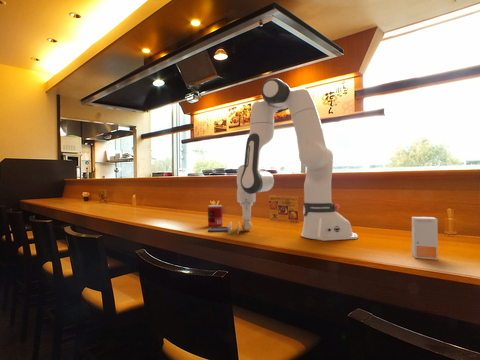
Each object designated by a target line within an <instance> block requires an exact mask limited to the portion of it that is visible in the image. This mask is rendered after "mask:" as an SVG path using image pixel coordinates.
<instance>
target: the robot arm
mask: <svg viewBox="0 0 480 360" xmlns="http://www.w3.org/2000/svg"><path fill="white" fill-rule="evenodd" d="M260 92H261V97H262V99H259V100H257V101H255V102H253V104H252V105H251V111H250V117H249V134H248V137H247V139H246V144H245V145H246V146H245V152H244V153H245V154H244V163H243V164H242V165H240V166H238V168H237V172H236V184H237V190H236V201H237V203H239V206H240V207H241V208H242V220H243V221H245V229H249V221H251V219H252V218H251V217H252V213H251V212H252V206H254V203H256V201H257V200H256V199H257V198H256V197H257V196H256V194H257V193H263V192H269V191H270V190H271V189H272V188H274V185H275V178H274V175H273V173H271V172H270V171H267V170H264V169H260V168H259V165H260V164H259V162H260V153H261V150H262V148H263V147H264V146H265V145H267V144H268V143H269V142H271V140H272V139H273V138H274V134H275V133H274V132H275V114H280V113H282V112H284V111H287V110H289V114H290V117H291V121H292V124H293V127H294V131H295V135H296V141H297V149H298V158H299V161H300V163H301V164H302V165H303V166H304V167H305V168H306V173H305V180H304V182H303V193H304V194H303V195H304V196H303V201H304V202H303V205H302V209H303V210H302V214H303V225H302V230H301V231H302V232H301V234H300V236H301V237H303V238H306V239H312V240H318V241H338V240H339V241H340V240H357V239H358V238H359V235H358V234H357V233H355V232H353V229H352V225H351V223H350V221H349V220H348V219H346V218H345V217H344V216H343V215H341V214H340V213H339V212H337V210H339V209H340V208H341V205H340V204H338V203H333V202H332V179H333V167H334V166H333V165H334V164H333V163H334V155H333V151H332V150H331V149H330V147H328V146H327V145H326V141H325V138H324V137H325V136H324V131H323V125H322V122H321V119H320V115H319V112H318V108H317V105H316V103H315V100H314V98H313V97H312V94H311V93H310V91H309V90H308V89H307V88H303V87H301V88H300V87H299V88H296V89H292V88H291V87H290V86H289V85H288V84H287V83H286V82H285V81H283V80H281V78H280V79H279V78H275V77H271V78H267V80H264V82H263V83H262V84H261V88H260Z"/></svg>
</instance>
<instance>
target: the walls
mask: <svg viewBox="0 0 480 360" xmlns="http://www.w3.org/2000/svg"><path fill="white" fill-rule="evenodd" d="M232 223H233V222H232V221H230V222H229V224H228V235H231V233H232V226H233V225H232ZM240 227H241V225H240V221H238V222H237V229H236V231H237V233H236V234H237V235H240Z"/></svg>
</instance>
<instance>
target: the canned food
mask: <svg viewBox="0 0 480 360" xmlns="http://www.w3.org/2000/svg"><path fill="white" fill-rule="evenodd" d="M207 223H208V228H210V227H223V205H222V204H210V205H207Z"/></svg>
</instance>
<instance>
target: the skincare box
mask: <svg viewBox="0 0 480 360" xmlns="http://www.w3.org/2000/svg"><path fill="white" fill-rule="evenodd" d="M438 222H439V220H438V218H436V217H434V216H411V256H413V258H415V259H421V260H423V259H424V260H435V261H438V259H439V257H438V256H439V254H438V253H439V250H438V249H439V242H438V240H439V239H438V234H439V233H438V228H439V227H438V224H439V223H438Z"/></svg>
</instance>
